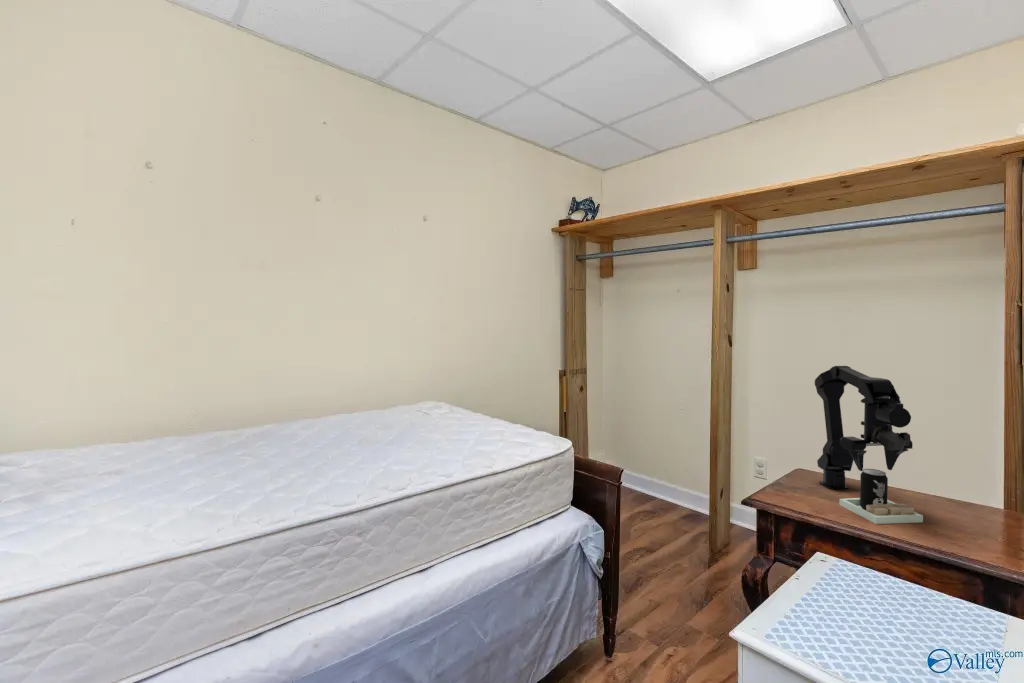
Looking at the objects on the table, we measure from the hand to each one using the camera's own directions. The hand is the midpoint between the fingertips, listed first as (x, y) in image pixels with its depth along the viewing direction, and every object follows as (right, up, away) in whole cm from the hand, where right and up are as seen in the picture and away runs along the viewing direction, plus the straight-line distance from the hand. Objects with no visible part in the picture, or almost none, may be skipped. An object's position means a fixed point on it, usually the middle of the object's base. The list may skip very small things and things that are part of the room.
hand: (875, 470), depth 142 cm
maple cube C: (+4, -12, -6) cm, 14 cm away
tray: (0, -13, -2) cm, 13 cm away
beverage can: (0, -13, 0) cm, 12 cm away
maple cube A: (-4, -13, -6) cm, 15 cm away
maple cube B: (0, -13, -6) cm, 14 cm away
